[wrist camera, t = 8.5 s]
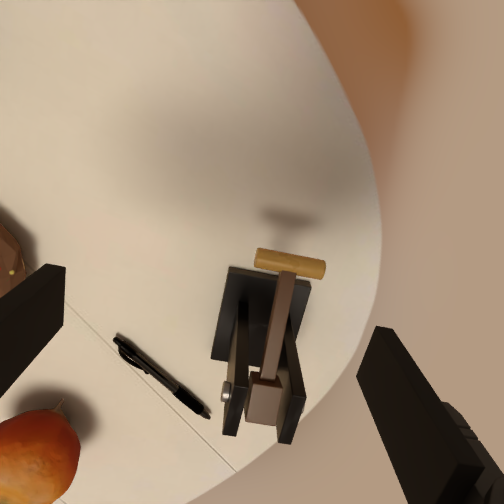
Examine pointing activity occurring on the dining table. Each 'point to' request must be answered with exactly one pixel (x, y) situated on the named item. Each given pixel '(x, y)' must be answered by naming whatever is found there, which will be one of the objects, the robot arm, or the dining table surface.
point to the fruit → (37, 457)
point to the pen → (159, 376)
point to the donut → (10, 262)
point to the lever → (276, 332)
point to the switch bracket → (258, 346)
